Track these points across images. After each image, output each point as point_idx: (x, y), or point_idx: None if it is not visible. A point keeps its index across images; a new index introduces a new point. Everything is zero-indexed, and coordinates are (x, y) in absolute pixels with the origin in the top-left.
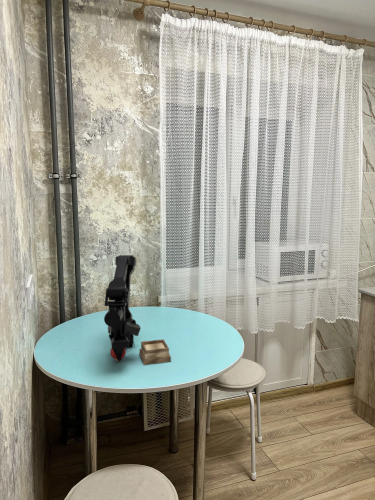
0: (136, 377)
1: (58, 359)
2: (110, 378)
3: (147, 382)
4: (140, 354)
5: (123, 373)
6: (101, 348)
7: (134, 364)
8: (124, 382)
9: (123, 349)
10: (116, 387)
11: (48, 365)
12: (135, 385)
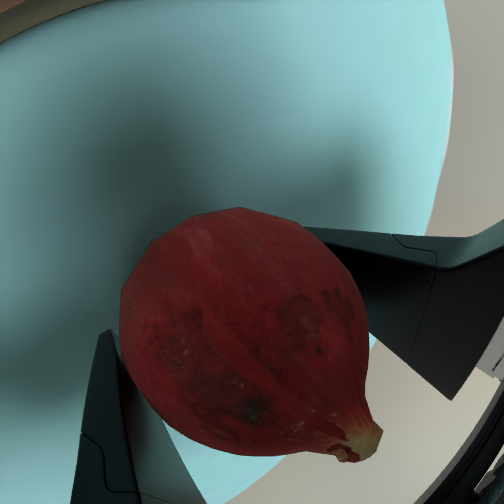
0: (411, 70)
1: (206, 494)
2: (399, 214)
3: (433, 28)
4: (37, 15)
5: (378, 151)
6: (13, 468)
7: (266, 66)
8: (429, 134)
9: (336, 261)
10: (442, 165)
11: (253, 478)
12: (444, 84)
